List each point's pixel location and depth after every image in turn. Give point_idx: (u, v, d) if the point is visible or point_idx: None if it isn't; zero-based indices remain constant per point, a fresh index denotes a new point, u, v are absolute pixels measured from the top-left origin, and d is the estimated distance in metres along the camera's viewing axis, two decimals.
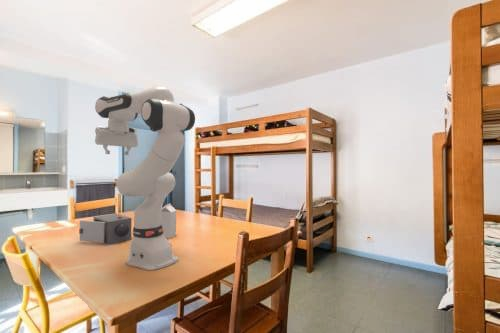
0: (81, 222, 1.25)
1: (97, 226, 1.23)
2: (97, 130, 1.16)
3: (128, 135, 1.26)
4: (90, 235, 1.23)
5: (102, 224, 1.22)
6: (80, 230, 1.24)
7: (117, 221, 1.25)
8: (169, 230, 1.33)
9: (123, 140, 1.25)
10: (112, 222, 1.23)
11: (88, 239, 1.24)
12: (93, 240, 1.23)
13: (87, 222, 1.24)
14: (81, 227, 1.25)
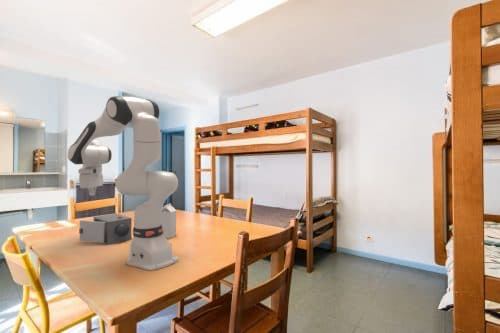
0: (81, 222, 1.25)
1: (97, 226, 1.23)
2: None
3: None
4: (90, 235, 1.23)
5: (102, 224, 1.22)
6: (80, 230, 1.24)
7: (117, 221, 1.25)
8: (169, 230, 1.33)
9: None
10: (112, 222, 1.23)
11: (88, 239, 1.24)
12: (93, 240, 1.23)
13: (87, 222, 1.24)
14: (81, 227, 1.25)
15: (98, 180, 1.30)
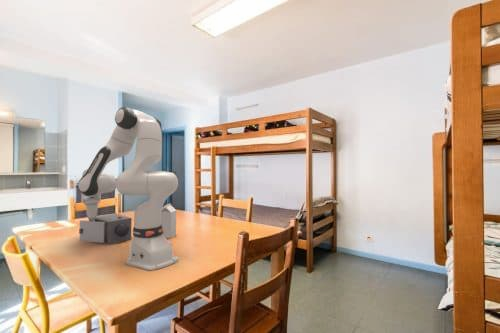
0: (81, 222, 1.25)
1: (97, 226, 1.23)
2: None
3: None
4: (90, 235, 1.23)
5: (102, 224, 1.22)
6: (80, 230, 1.24)
7: (117, 221, 1.25)
8: (169, 230, 1.33)
9: None
10: (112, 222, 1.23)
11: (88, 239, 1.24)
12: (93, 240, 1.23)
13: (87, 222, 1.24)
14: (81, 227, 1.25)
15: None
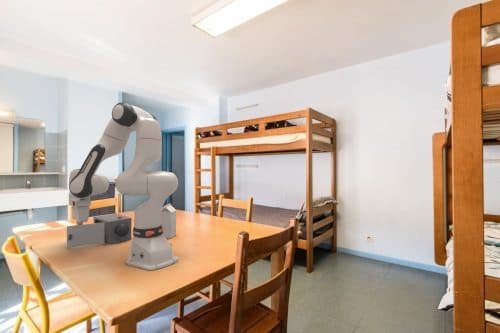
0: (70, 228, 1.14)
1: (94, 228, 1.19)
2: None
3: None
4: (84, 239, 1.17)
5: (102, 225, 1.21)
6: (70, 236, 1.13)
7: (117, 221, 1.25)
8: (169, 230, 1.33)
9: (76, 214, 1.15)
10: (112, 222, 1.23)
11: (81, 244, 1.16)
12: (89, 243, 1.18)
13: (79, 226, 1.16)
14: (69, 233, 1.13)
15: None
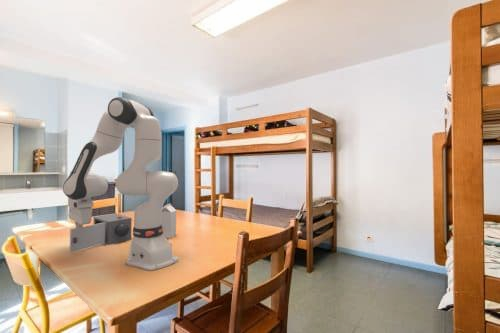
0: (74, 231, 1.09)
1: (96, 229, 1.18)
2: None
3: (77, 210, 1.08)
4: (87, 241, 1.14)
5: (103, 225, 1.20)
6: (75, 239, 1.09)
7: (117, 221, 1.25)
8: (169, 230, 1.33)
9: (76, 216, 1.10)
10: (112, 222, 1.23)
11: (84, 246, 1.13)
12: (91, 245, 1.16)
13: (83, 228, 1.12)
14: (73, 236, 1.09)
15: None
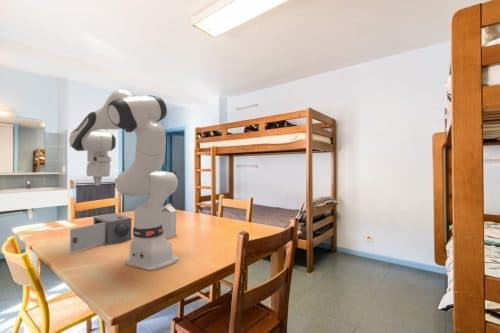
0: (74, 231, 1.09)
1: (96, 229, 1.18)
2: None
3: (96, 164, 1.16)
4: (87, 241, 1.14)
5: (103, 225, 1.20)
6: (75, 239, 1.09)
7: (117, 221, 1.25)
8: (169, 230, 1.33)
9: (95, 170, 1.18)
10: (112, 222, 1.23)
11: (84, 246, 1.13)
12: (91, 245, 1.16)
13: (83, 228, 1.12)
14: (73, 236, 1.09)
15: None
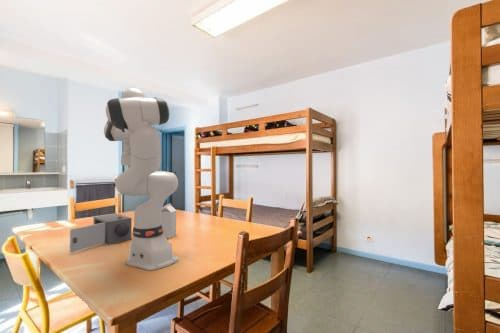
0: (74, 231, 1.09)
1: (96, 229, 1.18)
2: None
3: None
4: (87, 241, 1.14)
5: (103, 225, 1.20)
6: (75, 239, 1.09)
7: (117, 221, 1.25)
8: (169, 230, 1.33)
9: (130, 159, 1.28)
10: (112, 222, 1.23)
11: (84, 246, 1.13)
12: (91, 245, 1.16)
13: (83, 228, 1.12)
14: (73, 236, 1.09)
15: None
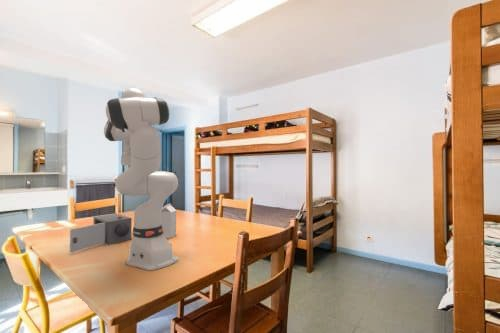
0: (74, 231, 1.09)
1: (96, 229, 1.18)
2: None
3: None
4: (87, 241, 1.14)
5: (103, 225, 1.20)
6: (75, 239, 1.09)
7: (117, 221, 1.25)
8: (169, 230, 1.33)
9: (130, 159, 1.28)
10: (112, 222, 1.23)
11: (84, 246, 1.13)
12: (91, 245, 1.16)
13: (83, 228, 1.12)
14: (73, 236, 1.09)
15: None
